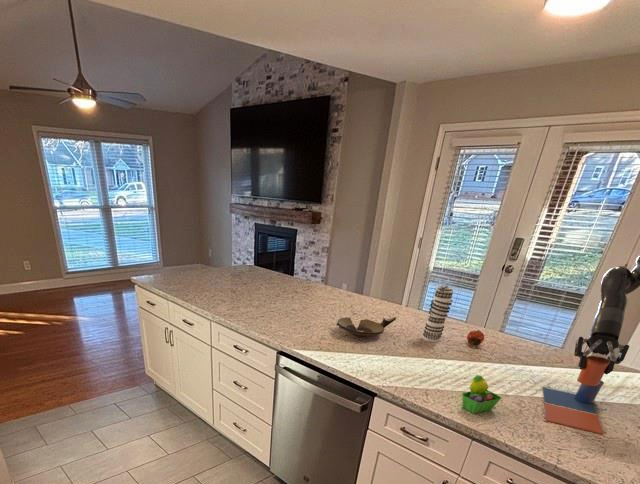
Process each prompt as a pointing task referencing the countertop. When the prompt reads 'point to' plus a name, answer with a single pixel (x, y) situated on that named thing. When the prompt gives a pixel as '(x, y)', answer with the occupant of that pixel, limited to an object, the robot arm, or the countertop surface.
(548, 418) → the terracotta mat
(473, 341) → the pomegranate
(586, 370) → the terracotta canister
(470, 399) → the fruit basket
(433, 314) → the striped cylindrical tower
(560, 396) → the blue mat
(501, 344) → the countertop surface
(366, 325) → the oil lamp
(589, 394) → the blue canister
